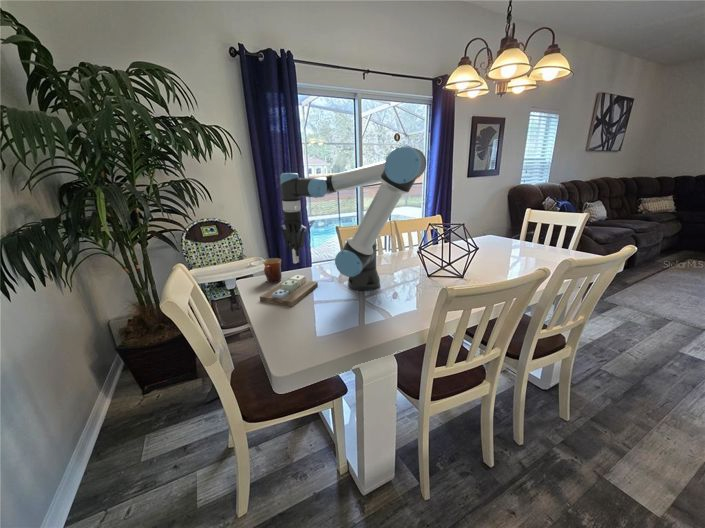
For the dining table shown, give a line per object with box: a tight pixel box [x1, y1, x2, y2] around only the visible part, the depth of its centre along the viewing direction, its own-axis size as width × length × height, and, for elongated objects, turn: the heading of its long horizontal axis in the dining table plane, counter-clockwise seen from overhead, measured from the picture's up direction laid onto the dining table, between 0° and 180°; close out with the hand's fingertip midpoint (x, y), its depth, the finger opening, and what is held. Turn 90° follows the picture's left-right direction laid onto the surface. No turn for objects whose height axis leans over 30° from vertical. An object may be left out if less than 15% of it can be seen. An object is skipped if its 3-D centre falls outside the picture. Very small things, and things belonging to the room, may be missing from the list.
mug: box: [262, 257, 282, 283], centre depth 140 cm, size 12×9×10 cm
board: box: [259, 278, 319, 307], centre depth 128 cm, size 16×22×2 cm
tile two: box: [282, 279, 298, 292], centre depth 128 cm, size 5×5×4 cm
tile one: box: [290, 274, 307, 286], centre depth 134 cm, size 5×5×4 cm
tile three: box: [272, 289, 289, 299], centre depth 122 cm, size 5×5×4 cm
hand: (296, 262), depth 131 cm, fingers closed
